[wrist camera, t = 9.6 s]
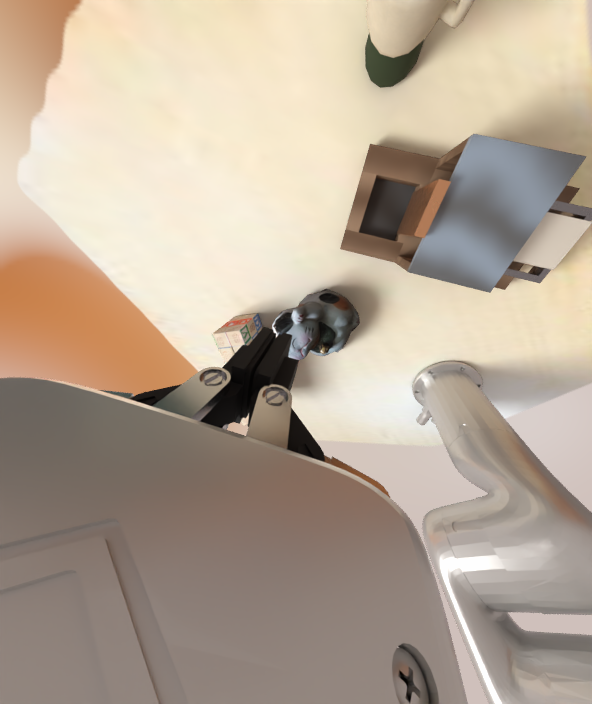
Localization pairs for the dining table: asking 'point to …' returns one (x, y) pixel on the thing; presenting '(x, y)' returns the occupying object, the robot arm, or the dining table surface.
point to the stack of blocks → (237, 337)
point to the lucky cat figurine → (318, 324)
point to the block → (551, 240)
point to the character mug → (403, 33)
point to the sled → (429, 201)
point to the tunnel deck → (459, 207)
